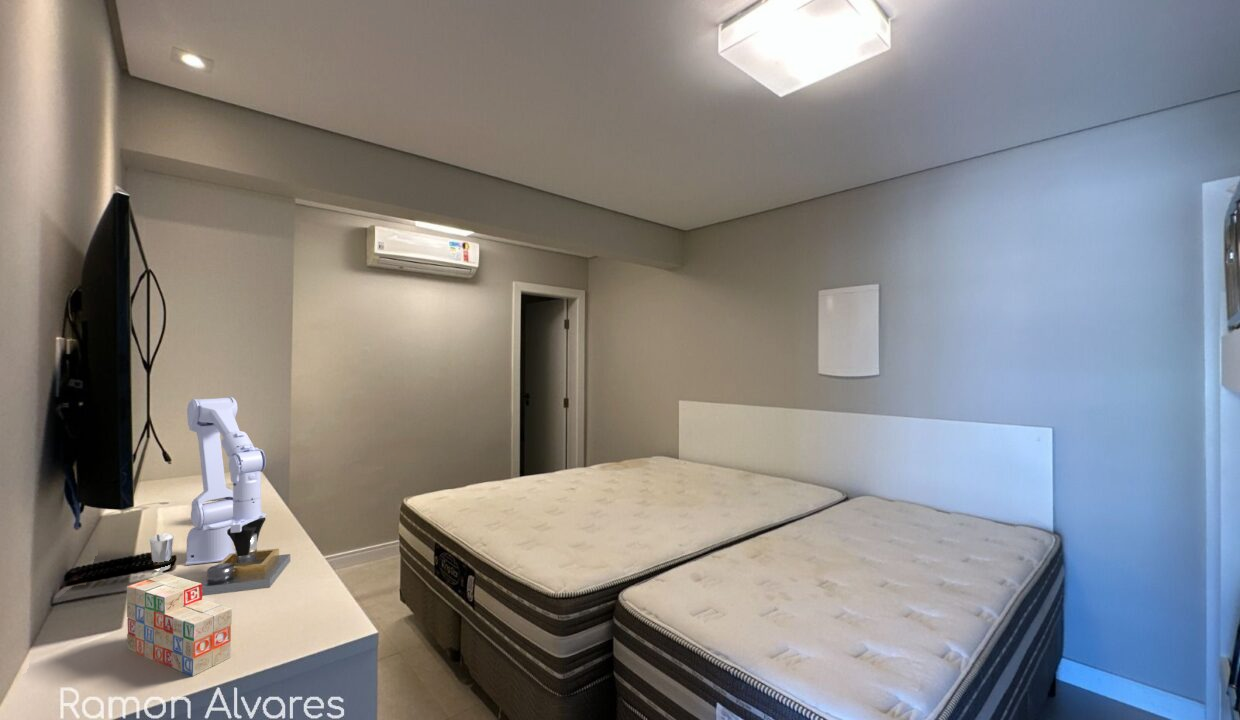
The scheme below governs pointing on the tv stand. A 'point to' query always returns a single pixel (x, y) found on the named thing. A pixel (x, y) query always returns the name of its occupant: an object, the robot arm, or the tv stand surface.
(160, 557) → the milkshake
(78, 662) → the tv stand surface
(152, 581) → the stack of blocks
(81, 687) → the tv stand surface
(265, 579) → the grey piece
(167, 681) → the tv stand surface
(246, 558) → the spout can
